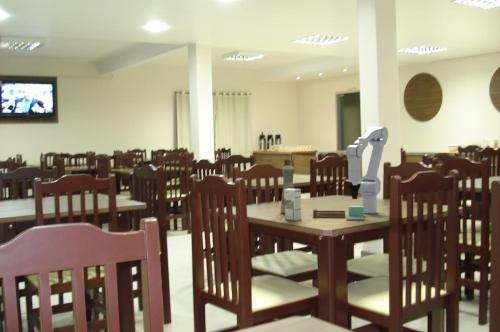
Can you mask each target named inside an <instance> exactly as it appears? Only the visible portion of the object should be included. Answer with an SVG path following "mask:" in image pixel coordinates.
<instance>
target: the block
mask: <svg viewBox="0 0 500 332" xmlns="http://www.w3.org/2000/svg"><path fill="white" fill-rule="evenodd" d="M348 217H364V218H365V213H364V206H362V205H348Z"/></svg>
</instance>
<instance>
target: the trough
mask: <svg viewBox="0 0 500 332" xmlns="http://www.w3.org/2000/svg"><path fill="white" fill-rule="evenodd" d="M312 216H313V217H312V218H317V219H318V218H320V219H321V218H326V219H328V218H329V219H330V218H331V219H332V218H333V219H334V218H338V219H341V218H342V219H343V218H346V210H330V209H329V210H324V209H323V210H317V207H313V210H312Z"/></svg>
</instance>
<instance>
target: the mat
mask: <svg viewBox="0 0 500 332" xmlns="http://www.w3.org/2000/svg"><path fill="white" fill-rule="evenodd" d="M345 218H346V219H345V220H346V222H347V221H349V222H350V221H351V222H352V221H355V222H357V221H361V222H362V221H363V222H364V221H365V216H364V217H349V216H345Z"/></svg>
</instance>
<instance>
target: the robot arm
mask: <svg viewBox="0 0 500 332" xmlns="http://www.w3.org/2000/svg"><path fill="white" fill-rule="evenodd" d="M388 138H389V130H388V128H387V127H386V125H385V126H384V125H383V126H368V127H366V129H365V133H364V134H363V136H362V137H359V136H358V137H357V139H356V140H355V142H353V144H350V145H348V146H347V147H346V149H345V155H346V160H347V164H348V166H347V167H348V168H347V169H348V171H347V172H348V174H347V175H348V176H347V177H348V179H346V180H345V182H350V183H349V184H348V186H349V189H350V193H351V198H352V200H357V199H358V197H359V193H360V195H361V206H364V214H379V211H378V195H379V194H380V192H381V188H382V187H381V186H382V185H381V184H382V182H381V180H380V178H379V177H378V173H379V168H380V164H381V159H382V155H383V152H384V148H385V146H386V144H387V142H388ZM369 145H370V146H372V151H371V154H370V159H369V163H368V167H367V171H366V174H364V176H362V175H361V174H362V173H361V171H362V165H361V159H362V157H363V154H364V153H365V152H364V151H365V149H366V148H367V147H368V146H369Z"/></svg>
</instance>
